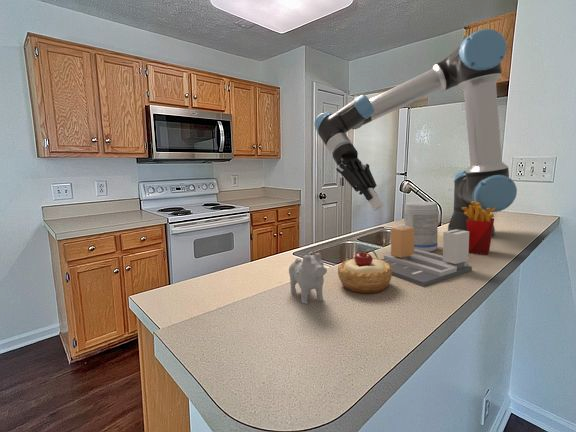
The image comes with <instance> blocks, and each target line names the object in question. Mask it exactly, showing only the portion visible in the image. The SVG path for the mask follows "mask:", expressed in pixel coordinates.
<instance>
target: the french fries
mask: <svg viewBox="0 0 576 432" xmlns="http://www.w3.org/2000/svg"><path fill="white" fill-rule="evenodd" d="M471 204H472V205H473V206H472V205H469V209H468V208H467V207H462V210H464V211H465V212H464V214H465V215H467V216H468V217H469V219H468V220H467V231H469V251H468V254H474V255H482V256H483V255H485V256H489V253H490V249H491V242H492V237H493V236H492V230H493V225H494V224H495V218H494V217H495V214H494V212H492V211H493V210H495V208H492V209H490V208H487V212H486V211H485V210H483V209H482V207H481V205H480V203H475V202H474V201H472V202H471ZM474 210H475V215H474ZM479 214H480V218H479Z"/></svg>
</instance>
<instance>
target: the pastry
mask: <svg viewBox="0 0 576 432" xmlns="http://www.w3.org/2000/svg"><path fill="white" fill-rule="evenodd" d="M368 252H372V253H373V254H374V256H375V257H373V256H372V255H371V254H370V253H368ZM337 274H338V278H339V280H340V282H341V284H342V286H344V288H345V289H347V290H349V291H352V292H353V293H357V294H376V293H380V292H382V291H384V290H385V289H386V288H387V286H388V285H389V284H390V282H391V279H392V276H393V275H392V268H391V266H390V265H389V263H387V262H386V261H382V260H381V258H378V255H377V253H376V252H375V250H373V249H370V248H369V249H366V251H363V252H362V251H361V252H357V253H355V255H354V257H352V258H351V259H349V258H346V259H345V260H343V261H342V262H341V263H340V264H339V265H338V268H337Z"/></svg>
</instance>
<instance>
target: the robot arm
mask: <svg viewBox="0 0 576 432" xmlns="http://www.w3.org/2000/svg"><path fill="white" fill-rule="evenodd" d="M507 48H508V45H507V42H506V38H505V37H504V36H503V34H502V33H501V32H499V31H497V30H495V29H491V28H483V29H477V30H476V31H475V32H472V33H471V34H470V35H468V36H467V37H465V38H464V39H463V41H462V42H461V44H459V46H458V47H457V48H456V49H455V50H454V51H452V53H450V54H449V55H448V56H447V57H445V58H444V59H443V60H440V61H439V62H437V63H435V64H433V66H432V68H431V69H429V70H427V71H425V72H424V73H421V74H419V75H417V76H415V77H413V78H411V79H409V80H407V81H405V82H403V83H400V84H398V85H396V86H394V87H392V88H390V89H388V90H386V91H384V92H382V93H380V94H378V95H376V96H373V97H371V98H370V99H369V98H368V96H367V95H366V94H361V95H359V96H357V97H356V98H354V99H353V100H351V101H350V102H349V103H347V104H346V105H345V106H343V107H341V109H339V110H337V111H336V112H334V113H332V112H330V111H325V112H322V113H319V114H318V116H316V117H315V120H314V129H315V130H316V132H317V135H318V136H319V138H320V139H321V140H322V141H323V143H324V145H325V147H326V149H327V150H328V151H329V153H330V155H331V156H332V159H333V160H334V162H335V164H336V165H337V167H336V171H337V173H339V174H340V175H341V176H342V177H343V179H345V180H346V182H348V184H349V185H350V186H351V188H352V189H353V190H354V191H355V192H358V194H359V195H363V196H364V198H365V200H367V201H368V203H369V205H370V206H371V209H372V210H373V211H374V212H375V211H378V210H379V209H381V208H382V207H383V206H384V204H383V201H381V199H380V198H379V196H378V194H377V192H376V190H375V189H376V187H377V186H378V185H377V183H376V181H375V178H374V177H373V174H372V172H371V168H370V164H368V163H365V164H363V162H362V161H361V160H360V159H359V158H358V155H359V154H358V150H357V149H356V147H355V146H354V144H353V142H352V141H351V140H350V138H349V137H348V135H347V134H346V133H348V132H349V131H351V130H357V129H360V128H361V127H362V126H364V125H367V124H368V123H371V122H372V121H375V120H377V119H380V118H382V117H383V116H385V115H388V114H390V113H392V112H394V111H396V110H399V109H400V108H403V107H406V106H407V105H409V104H411V103H414V102H416V101H418V100H420V99H423V98H425V97H427V96H429V95H431V94H433V93H435V92H438V91H440V92H445V91H447V90H450V89H452V88H454V87H458V88H460V89H461V90H463V97H464V106H465V118H466V119H465V120H466V129H467V139H468V140H467V141H468V152H469V164H470V166H468V167H469V168H467V170H461V171H457V172H456V174H455V175H454V180H453V186H454V189H453V192H454V193H453V213H452V215H451V218H450V220H449V223H448V225H447V231H451V230H455V229H457V230H463V231H467V220H468V219H469V217H468V216H467V215H465V214H464V212H465V211H464V210H462V207H467V208H468V209H469V205H472V204H471V202H472V201H474V202H475V203H480V205H481V207H482V209H483V210H485V211H486V212H487V208H490V209H492V208H495V210H493V211H492V212H491V213H499V212H501V211H505V210H506V209H508V208H509V207H510V206H511V205H512V204H513V203H514V201H515V200H516V197H517V193H518V190H517V189H518V188H517V186H516V183H515V181H514V180H513V179H512V178H510V172H509V166H508V165H507V164H506V163H504V162H503V158H502V144H501V143H502V142H501V132H500V131H501V130H500V119H499V117H500V115H499V105H498V102H499V101H498V93H497V92H498V91H497V90H498V89H497V82H498V80H500V78H501V77H502V63H501V62H502V61H503V60H504V58H505V56H506V53H507ZM472 206H473V205H472ZM474 215H475V210H474ZM479 218H480V214H479ZM495 231H496V227H495V225H494V224H493V230H492V237H493V236H495Z"/></svg>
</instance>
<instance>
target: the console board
mask: <svg viewBox="0 0 576 432" xmlns="http://www.w3.org/2000/svg"><path fill="white" fill-rule="evenodd" d="M442 237H443V238H442V239H443V240H442V255H441V254H437V253H434V252H426V251H422V250H418V249H414V255H410V260H405V259H402V258H398V257H395V256H393V255H391V253H388V254H384V255H383V258H382V259H381V258H380V259H381V260H382V261H386V262H387V263H389V265H390V266H391V268H392V276H394V277H396V278H399V279H402V280H404V281H407V282H409V283H413V284H415V285H418V286H421V287H426V286H429V285H432V284H435V283H438V282H441V281H445V280H448V279H451V278H454V277H457V276H459V275H463V274H466V273H469V272H471V271H473V266H470V265H469V252H468V251H469V231H463V230H457V229H455V230H451V231H448V230H447V231H444V232H443V235H442Z"/></svg>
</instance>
